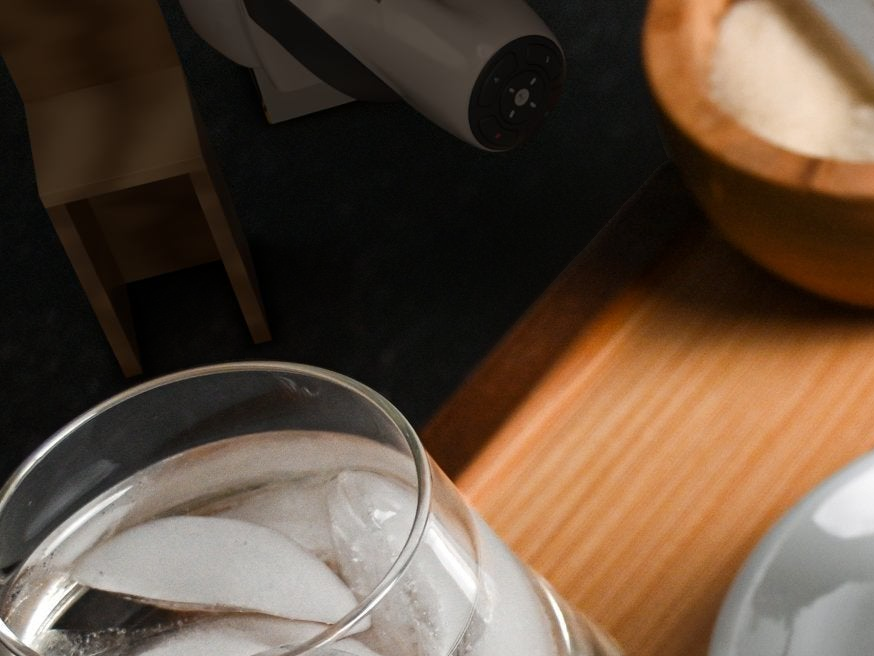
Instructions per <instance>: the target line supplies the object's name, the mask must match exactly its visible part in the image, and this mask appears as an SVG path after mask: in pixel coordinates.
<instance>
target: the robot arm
mask: <svg viewBox="0 0 874 656" xmlns="http://www.w3.org/2000/svg"><path fill="white" fill-rule="evenodd" d="M178 3H179V6H180V7H181V10H182V12H183V14H184V16H185V18H186V20H187V22H188V24H189V25H190V27H191V28H192V30H193V31H194V32H195V33H196V35H198V36H199V37H200V38H201V39H202V40H203V41H205V42H206V43H207V44H208V45H210V47H212V48H213V49H214V50H216V51H217V52H218V53H220V54H221V55H222V56H224V57H225V58H228V59H229V60H230V61H232V62H233V63H235V64H237V65H240V66H242V67H245V68H248V69H249V68H255V69H263V70H264V72H265V73H266V75H267V77H268V79H269V80H270V82H271V84H272V85H273V86H274V87H275V88H276V89H277V90H278V91H281V92H294V91H297V90H301V89H304V88H307V87H311V86H314V85H318V84H321V83H326V84H328V85H329V86H331V87H332V88H334V89H336V90H338V91H339V92H341V93H343V94H345V95H347V96H349V97H351V98H354V99H356V100H355V101H360V102H372V103H373V102H374V103H379V102H380V103H392V102H398V101H402V100H403V101H405V102H406V103H407V104H408V105H409V106H411V107H412V108H413V109H414V110H416V111H417V112H418V113H420V114H421V115H422V116H424V118H426V119H428V120H429V121H431V122H432V123H433V124H435V125H436V126H438V127H439V128H441V129H442V130H444V131H446V132H447V133H449V134H451V135H452V136H454V137H456V138H457V139H460V140H461V141H463V142H465V143H467V144H469V145H471V146H473V147H476V148H477V149H480V150H482V151H486V152H492V153H499V152H500V153H501V152H506V151H509V150H512V149H515V148H517V147H519V146H522V145H523V144H524V143H526V142H528V141H529V140H530V139H531V138H532V137H533V136H534V135H536V133H537V132H539V130H540V129H541V128H542V126H543V125H544V124H545V122H546V121H547V119H548V118H549V117H550V115H551V113H552V112H553V111H554V109H555V107H556V105H557V103H558V102H559V99H560V98H561V95H562V93H563V89H564V86H565V82H566V81H565V80H566V71H567V70H566V60H565V59H566V58H565V54H564V51H563V48H562V46H561V44H560V42H559V40H558V38H557V37H556V35H555V34H554V32H553V31H552V30H551V29H550V28H549V26H548V25H547V24H546V23H545V21H544V20H543V19H542V18H541V17H540V16H539V15H538V14H537V12H535V10H534V9H533V7H531V6H530V5H529V4H528V3H527V2H526V0H178Z"/></svg>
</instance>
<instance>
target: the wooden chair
mask: <svg viewBox="0 0 874 656" xmlns="http://www.w3.org/2000/svg"><path fill="white" fill-rule="evenodd" d="M0 55H1V57H2V59H3V61H4V63H5V66H6V68H7V71H8V73H9V74H10V76H11V79H12V81H13V83H14V85H15V87H16V89H17V92H18V94H19V96H20V98H21V100H22V102H23V106H24V112H25V119H26V124H27V125H26V126H27V131H28V135H29V142H30V143H29V144H30V149H31V154H32V155H31V156H32V160H33V167H34V173H35V179H36V186H37V193H38V196H39V199H40V201H41V203H42V205H43V207H44V209H45V211H46V213H47V216H48V217H49V219H50V222H51V224H52V226H53V228H54V230H55V232H56V234H57V237H58V238H59V241H60V243H61V245H62V247H63V249H64V251H65V253H66V256H67V257H68V260H69V262H70V264H71V266H72V269H73V270H74V272H75V274H76V277H77V279H78V280H79V282H80V285H81V287H82V289H83V292H84V293H85V295H86V297H87V299H88V302H89V303H90V306H91V307H92V310H93V312H94V314H95V317H96V318H97V320H98V323H99V325H100V327H101V329H102V332H103V333H104V335H105V337H106V339H107V341H108V344H109V346H110V348H111V350H112V352H113V354H114V356H115V359H116V360H117V363H118V364H119V366H120V369H121V371H122V373H123V375H124V377H125V378H131V377H134V376H138V375H142V374H144V370H143V365H142V359H141V355H140V354H141V353H140V348H139V344H138V339H137V333H136V328H135V323H134V317H133V313H132V309H131V302H130V298H129V293H128V287H127V284H129V283H133V282H136V281H137V282H138V281H141V280H144V279H145V280H146V279H149V278H152V277H153V278H154V277H156V276H160V275H164V274H168V273H172V272H176V271H180V270H185V269H189V268H192V267H196V266H201V265H203V264H208V263H212V262H216V261H222V264H223V267H224V269H225V272H226V274H227V277H228V280H229V282H230V285H231V288H232V289H233V292H234V294H235V298H236V301H237V303H238V305H239V308H240V310H241V313H242V315H243V318H244V320H245V323H246V325H247V329H248V330H249V334H250V336H251V338H252V341H253V343H254V345H258V344H261V343H266V342H269V341H272V340H273V338H272V334H271V329H270V326H269V322H268V321H269V320H268V317H267V314H266V313H267V312H266V309H265V306H264V301H263V297H262V293H261V289H260V285H259V281H258V277H257V274H256V270H255V266H254V261H253V258H252V253H251V249H250V246H249V245H250V244H249V242H248V240H247V237H246V235H245V232H244V231H245V230H244V229H243V226H242V224H241V221H240V218H239V215H238V213H237V210H236V207H235V203H234V202H233V199H232V196H231V194H230V190H229V188H228V186H227V184H226V181H225V178H224V175H223V172H222V169H221V166H220V163H219V161H218V158H217V156H216V153H215V150H214V148H213V146H212V143H211V140H210V138H209V135H208V132H207V129H206V126H205V123H204V121H203V119H202V116H201V113H200V110H199V108H198V104H197V101H196V100H195V97H194V94H193V92H192V89H191V87H190V84H189V81H188V78H187V76H186V73H185V71H184V67H183V64H182V62H181V59H180V56H179V54H178V51H177V49H176V45H175V43H174V41H173V38H172V35H171V32H170V30H169V27H168V24H167V22H166V19H165V16H164V14H163V11H162V8H161V6H160V3H159V0H0Z"/></svg>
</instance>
